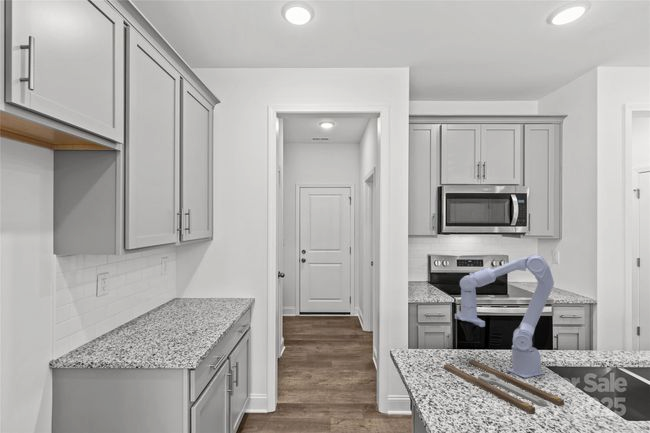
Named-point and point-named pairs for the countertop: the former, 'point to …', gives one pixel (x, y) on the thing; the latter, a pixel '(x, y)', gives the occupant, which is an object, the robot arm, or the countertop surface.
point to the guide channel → (501, 394)
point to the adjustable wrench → (511, 389)
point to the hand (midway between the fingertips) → (469, 340)
